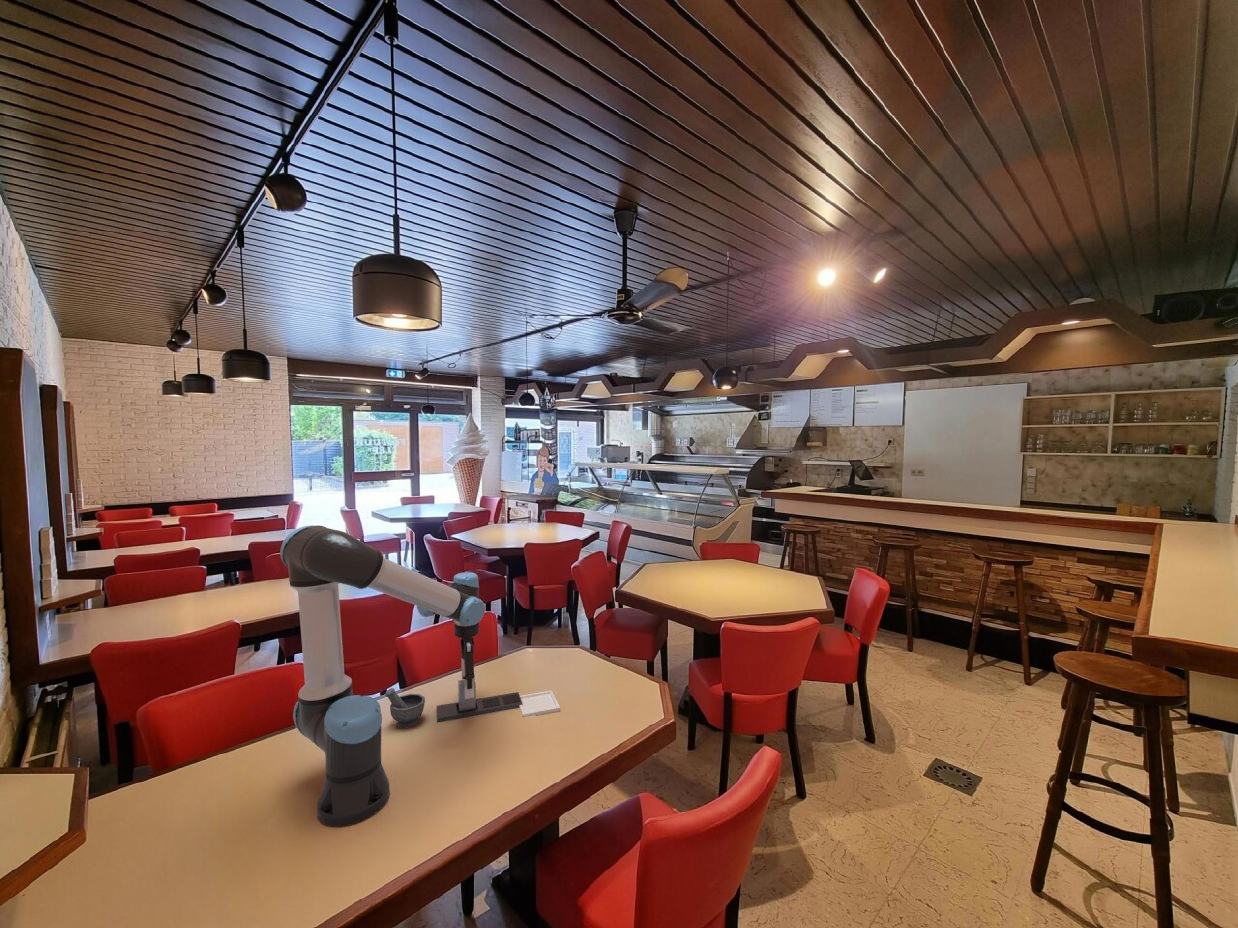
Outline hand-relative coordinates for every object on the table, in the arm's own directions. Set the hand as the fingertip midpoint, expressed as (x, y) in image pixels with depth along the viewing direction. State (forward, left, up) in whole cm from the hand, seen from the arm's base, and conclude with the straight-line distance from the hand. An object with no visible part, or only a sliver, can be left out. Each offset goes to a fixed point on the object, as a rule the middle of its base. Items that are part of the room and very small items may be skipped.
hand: (467, 687), depth 158 cm
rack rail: (0, -4, -8) cm, 9 cm away
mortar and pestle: (-1, +18, -8) cm, 20 cm away
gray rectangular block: (0, 0, -7) cm, 7 cm away
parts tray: (-4, -22, -8) cm, 23 cm away
